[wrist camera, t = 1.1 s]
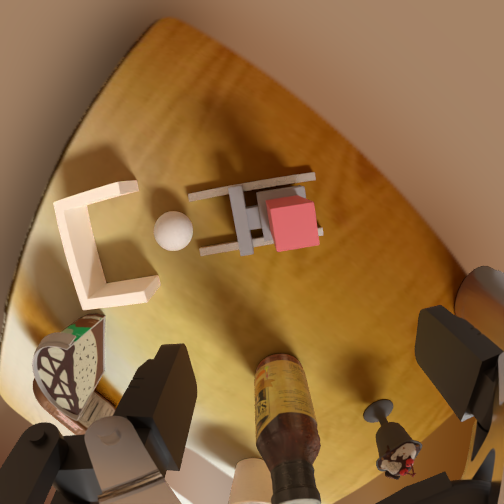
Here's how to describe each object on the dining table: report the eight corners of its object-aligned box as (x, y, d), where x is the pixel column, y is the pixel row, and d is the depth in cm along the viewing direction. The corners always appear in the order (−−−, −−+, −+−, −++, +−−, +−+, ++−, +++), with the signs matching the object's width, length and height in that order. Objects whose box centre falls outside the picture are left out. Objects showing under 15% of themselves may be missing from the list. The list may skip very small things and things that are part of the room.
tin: (49, 361, 37) (21, 391, 29) (54, 351, 36) (26, 382, 28) (122, 421, 39) (106, 458, 31) (131, 414, 39) (115, 452, 31)
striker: (297, 175, 29) (319, 176, 20) (307, 237, 31) (331, 266, 21) (230, 186, 30) (220, 192, 20) (241, 248, 31) (237, 282, 22)
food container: (66, 291, 34) (22, 325, 24) (105, 305, 34) (66, 345, 25) (69, 364, 37) (37, 404, 27) (105, 378, 37) (77, 423, 27)
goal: (136, 180, 31) (118, 181, 26) (160, 284, 33) (147, 302, 29) (76, 197, 31) (53, 202, 26) (101, 293, 34) (82, 310, 29)
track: (312, 172, 30) (314, 172, 30) (321, 233, 32) (323, 235, 31) (189, 193, 31) (187, 194, 30) (201, 254, 33) (200, 256, 32)
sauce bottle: (251, 353, 36) (252, 493, 16) (302, 347, 36) (338, 482, 16) (257, 392, 37) (260, 523, 18) (303, 387, 37) (331, 514, 18)
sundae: (385, 388, 38) (424, 462, 23) (404, 406, 39) (441, 472, 24) (349, 415, 39) (377, 492, 24) (371, 430, 40) (399, 499, 25)
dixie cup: (220, 457, 41) (216, 505, 31) (270, 449, 41) (273, 499, 31) (237, 480, 43) (235, 524, 33) (282, 473, 43) (286, 518, 33)
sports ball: (203, 228, 32) (197, 236, 28) (177, 253, 33) (168, 263, 29) (178, 201, 31) (168, 205, 27) (153, 226, 32) (140, 233, 28)
